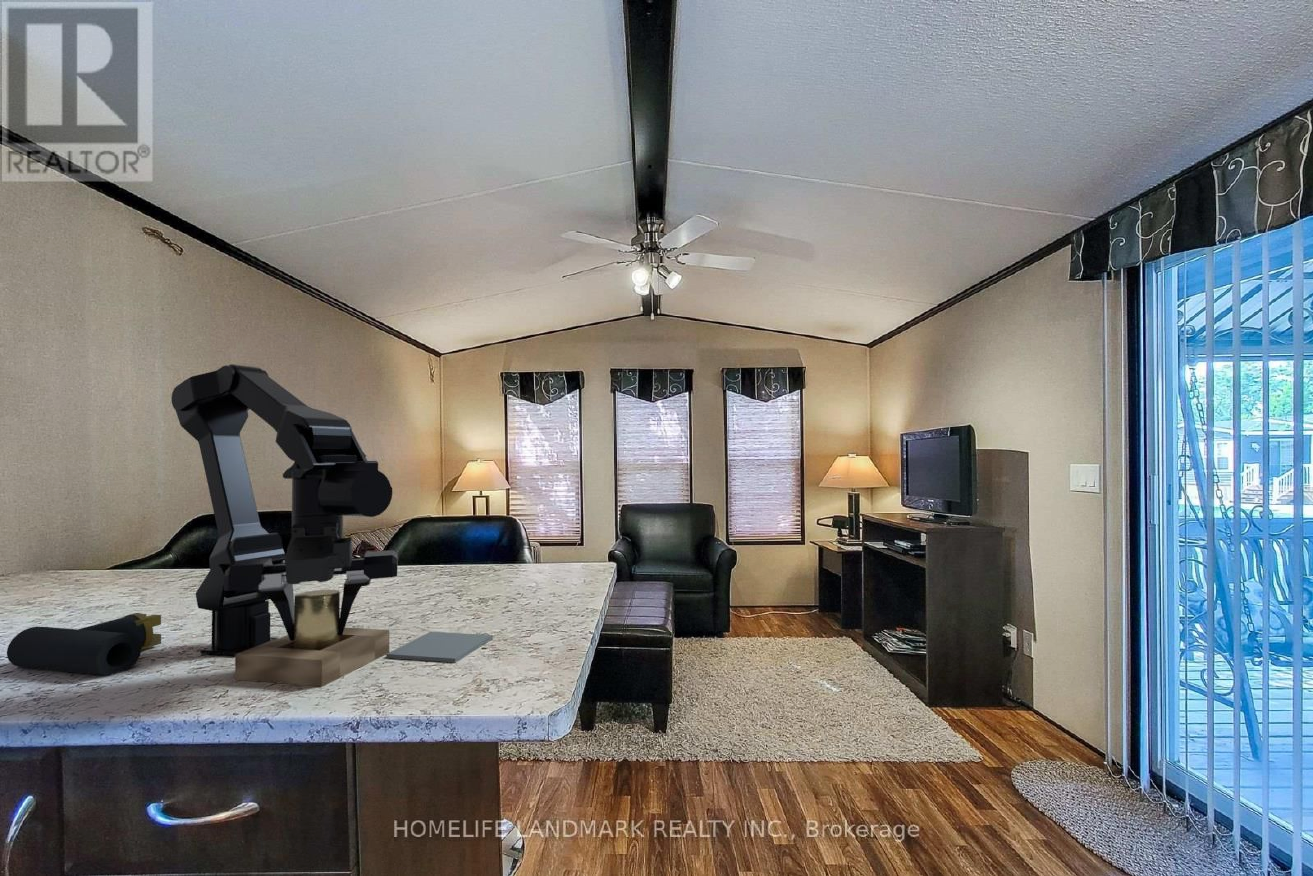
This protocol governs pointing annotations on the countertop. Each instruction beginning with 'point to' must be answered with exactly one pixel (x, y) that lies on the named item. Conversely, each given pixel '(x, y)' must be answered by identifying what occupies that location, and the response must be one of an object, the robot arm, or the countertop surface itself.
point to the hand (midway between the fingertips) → (317, 637)
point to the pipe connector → (86, 646)
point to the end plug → (316, 619)
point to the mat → (440, 647)
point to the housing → (311, 659)
